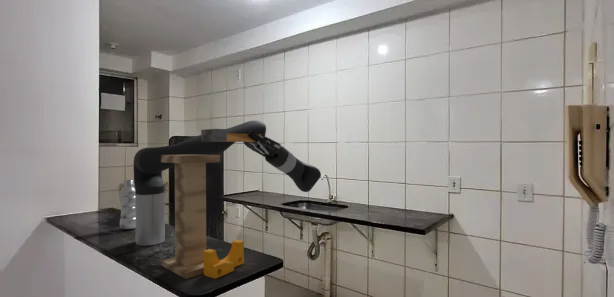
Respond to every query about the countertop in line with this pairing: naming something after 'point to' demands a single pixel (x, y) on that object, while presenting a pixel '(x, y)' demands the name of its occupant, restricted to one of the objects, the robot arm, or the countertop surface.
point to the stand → (189, 213)
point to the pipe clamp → (223, 260)
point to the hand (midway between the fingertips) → (246, 133)
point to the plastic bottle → (128, 205)
